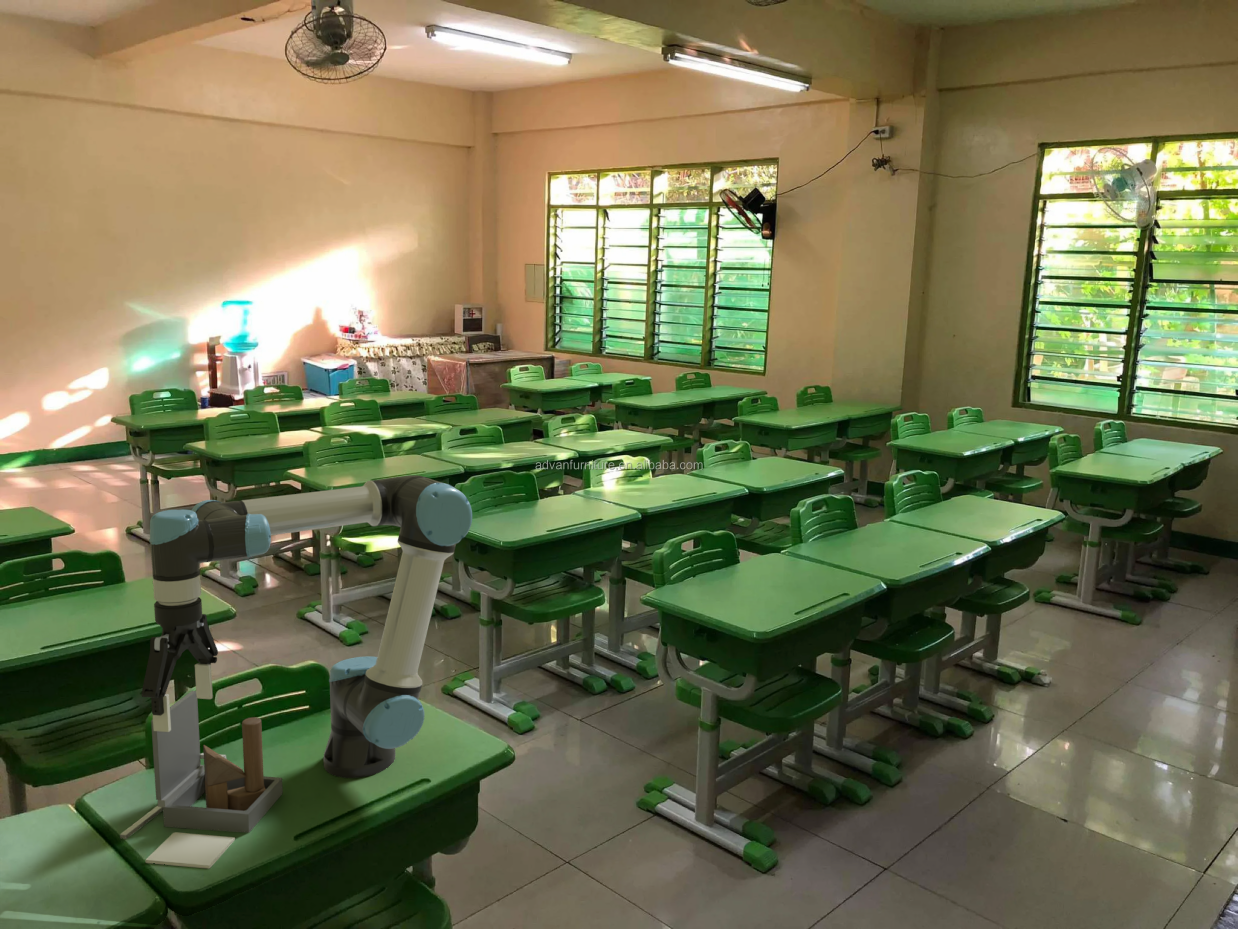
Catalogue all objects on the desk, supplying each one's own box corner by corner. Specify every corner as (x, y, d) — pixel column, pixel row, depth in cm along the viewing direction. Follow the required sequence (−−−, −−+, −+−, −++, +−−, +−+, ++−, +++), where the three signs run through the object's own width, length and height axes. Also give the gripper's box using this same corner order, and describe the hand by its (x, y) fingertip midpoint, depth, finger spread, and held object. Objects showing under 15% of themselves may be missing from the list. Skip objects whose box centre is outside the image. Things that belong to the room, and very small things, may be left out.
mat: (235, 840, 177) (234, 837, 177) (209, 868, 168) (209, 865, 168) (174, 835, 178) (173, 832, 178) (145, 862, 169) (145, 859, 169)
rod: (162, 807, 188) (162, 801, 188) (168, 808, 188) (167, 802, 188) (120, 840, 177) (120, 834, 176) (126, 841, 176) (125, 835, 176)
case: (284, 794, 194) (280, 695, 190) (249, 833, 179) (244, 727, 176) (199, 787, 195) (194, 689, 192) (157, 825, 181) (151, 720, 177)
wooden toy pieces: (206, 812, 186) (201, 726, 183) (263, 798, 192) (260, 714, 189) (209, 820, 183) (204, 733, 180) (267, 806, 189) (263, 722, 186)
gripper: (196, 577, 178) (201, 684, 181) (112, 621, 153) (121, 744, 157) (234, 579, 177) (239, 687, 181) (156, 624, 152) (164, 747, 156)
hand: (184, 713), depth 169 cm, fingers open, 13 cm apart
